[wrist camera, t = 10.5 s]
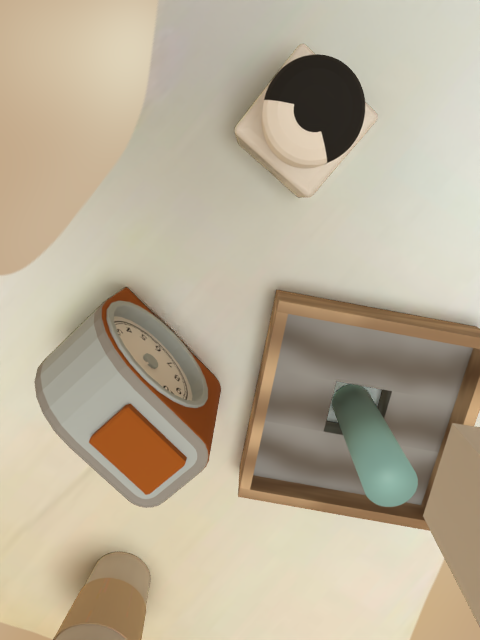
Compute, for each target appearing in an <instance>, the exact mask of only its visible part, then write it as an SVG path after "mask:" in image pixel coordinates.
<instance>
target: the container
mask: <svg viewBox="0 0 480 640" xmlns="http://www.w3.org/2000/svg"><path fill="white" fill-rule="evenodd" d="M377 118H378V115H377V113H376V112H375V111H374V110H373V109H372V108H371V107H370V106H369V105H368V104H367V103H366V102H365V98H364V93H363V89H362V87H361V84H360V82H359V80H358V79H357V77H356V75H355V74H354V73H353V72H352V70H351V69H350V68H349V67H348V66H346V65H345V64H344V63H342V62H341V61H339V60H337V59H335V58H333V57H330V56H326V55H316V54H315V53H314V52H313V51H312V50H311V49H309V48H308V47H307V46H306V45H305V44H300V45H299V46H298V47H297V48H296V49H295V50H294V52H293V53H292V54H291V56H290V57H289V58H288V59H287V61H286V62H285V63H284V65H283V66H282V67H281V69H280V70H279V71H278V72H277V74H276V75H275V76H274V78H273V79H272V80H271V81H270V83H269V84H268V85H267V87H266V88H265V89H264V90H263V92H262V93H261V94H260V96H259V97H258V98H257V99H256V101H255V102H254V103H253V105H252V106H251V107H250V108H249V110H248V111H247V112H246V114H245V115H244V116H243V117H242V119H241V120H240V121H239V123H238V124H237V125H236V127H235V135H236V138H237V141H238V144H239V145H240V146H241V147H242V148H243V149H244V150H246V151H247V152H248V153H249V154H250V155H251V156H252V157H253V158H254V159H256V160H257V161H258V162H259V163H260V164H261V165H262V166H263V167H265V168H266V169H267V170H268V171H269V172H270V173H271V174H272V175H274V176H275V177H276V178H277V179H278V180H279V181H280V182H281V183H282V184H284V185H285V186H286V187H287V188H288V189H289V190H290V191H291V192H293V193H294V194H295V195H296V196H297V197H311V196H312V195H313V194H314V193H315V192H316V191H317V190H318V188H319V187H320V186H321V185H322V184H323V183H324V181H325V180H326V179H327V178H328V177H329V176H330V174H331V173H332V172H333V171H334V170H335V169H336V167H337V166H338V165H339V164H340V163H341V162H342V160H343V159H344V158H345V157H346V156H347V155H348V153H349V152H350V151H351V150H352V149H353V148H354V146H355V145H356V144H357V143H358V142H359V141H360V139H361V138H362V137H363V136H364V135H365V134H366V132H367V131H368V130H369V129H370V128H371V126H372V125H373V124H374V123H375V122H376V120H377Z"/></svg>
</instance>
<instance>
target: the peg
mask: <svg viewBox="0 0 480 640" xmlns="http://www.w3.org/2000/svg"><path fill="white" fill-rule="evenodd" d="M332 406H333V410H334V412H335V415H336V417H337V420H338V423H339V425H340V428H341V431H342V433H343V436H344V439H345V441H346V444H347V447H348V449H349V452H350V455H351V457H352V460H353V463H354V465H355V468H356V471H357V473H358V476H359V479H360V481H361V484H362V487H363V489H364V492H365V494H366V496H367V497H368V498H369V499H370V500H371V501H372V502H373V503H375V504H377V505H380V506H383V507H394V506H398V505H401V504H403V503H405V502H407V501H408V500H409V499H410V498H411V497H412V496H413V495H414V493H415V492H416V489H417V486H418V478H417V475H416V472H415V471H414V469H413V467H412V466H411V464H410V462H409V460H408V459H407V457H406V455H405V454H404V452H403V450H402V449H401V447H400V445H399V443H398V442H397V440H396V438H395V437H394V435H393V433H392V432H391V430H390V428H389V427H388V425H387V423H386V421H385V420H384V418H383V416H382V415H381V413H380V411H379V410H378V408H377V406H376V404H375V403H374V401H373V399H372V398H371V396H370V394H369V393H368V391H367V390H366V389H365V388H363V387H362V386H359V385H354V384H351V385H346V386H343V387H341V388H340V389H339V390H338V391H337V392H336V393H335V394H334V397H333V400H332Z"/></svg>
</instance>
